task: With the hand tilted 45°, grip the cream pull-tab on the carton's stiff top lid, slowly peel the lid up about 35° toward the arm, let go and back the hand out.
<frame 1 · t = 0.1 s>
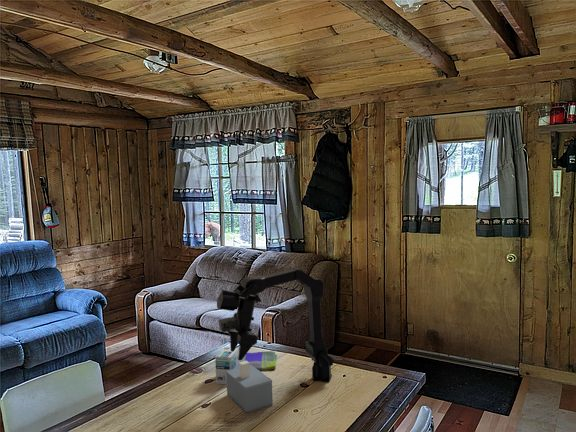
hand: (235, 355, 162), 15 cm above the table, tool pointing down, fingers open, 9 cm apart
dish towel: (248, 364, 194), on the table
carton: (249, 400, 161), on the table
carton lid: (248, 369, 160), point 11 cm above the table, hinge at 0.0°
light bulb box: (228, 379, 179), on the table
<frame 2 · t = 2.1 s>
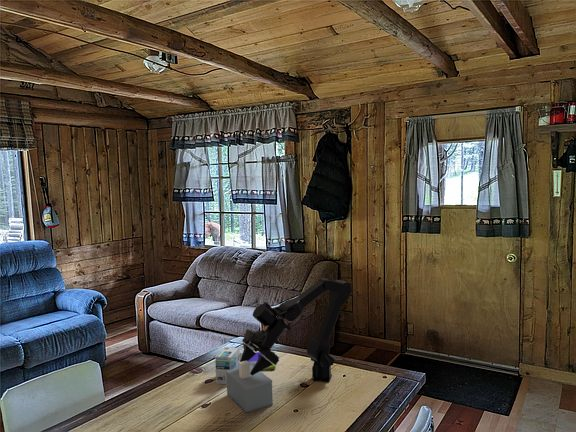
hand: (245, 370, 159), 11 cm above the table, tool tilted 45°, fingers open, 9 cm apart
nothing on the table moved.
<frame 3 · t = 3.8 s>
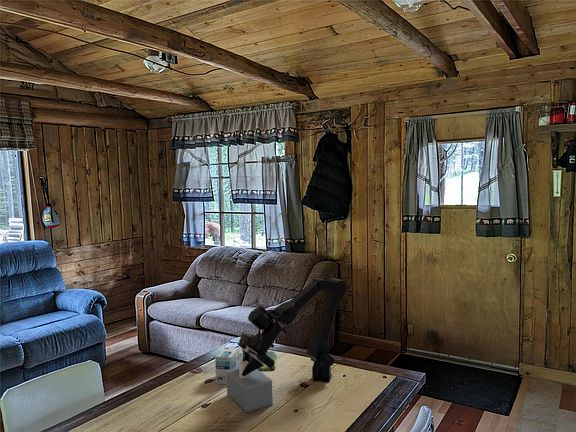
hand: (240, 374, 158), 10 cm above the table, tool tilted 45°, fingers closed on carton lid, 2 cm apart
carton lid: (248, 369, 160), point 11 cm above the table, hinge at 0.0°, touching gripper
everything else where it was.
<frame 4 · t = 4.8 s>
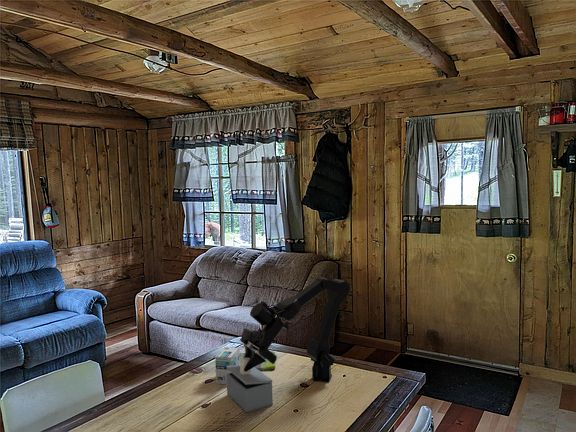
hand: (243, 369, 159), 12 cm above the table, tool tilted 45°, fingers closed on carton lid, 2 cm apart
carton lid: (249, 366, 160), point 12 cm above the table, hinge at 10.6°, touching gripper
everything else where it was.
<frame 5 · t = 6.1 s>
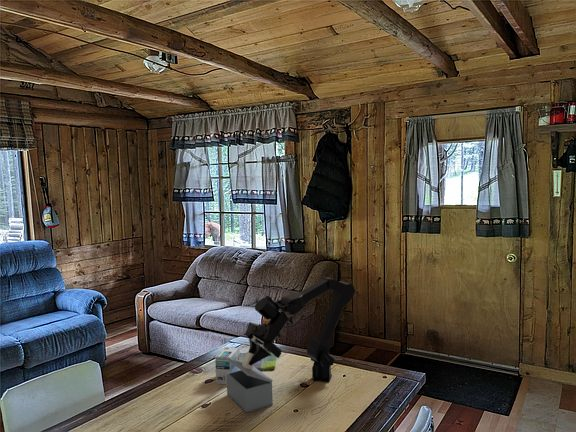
hand: (247, 363, 160), 13 cm above the table, tool tilted 45°, fingers closed on carton lid, 2 cm apart
carton lid: (252, 362, 161), point 13 cm above the table, hinge at 27.6°, touching gripper
everything else where it was.
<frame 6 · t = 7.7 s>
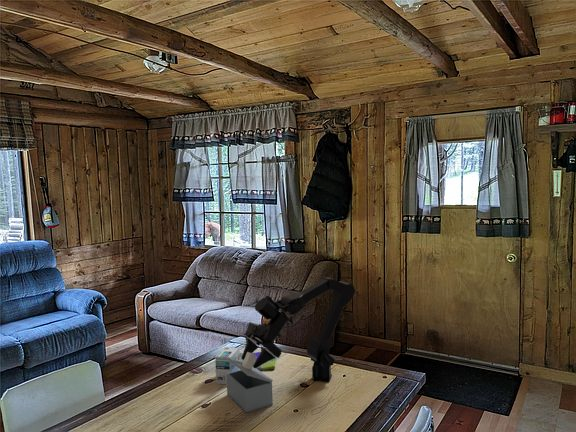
hand: (247, 363, 160), 13 cm above the table, tool tilted 45°, fingers open, 9 cm apart
carton lid: (252, 362, 161), point 13 cm above the table, hinge at 27.6°
everything else where it was.
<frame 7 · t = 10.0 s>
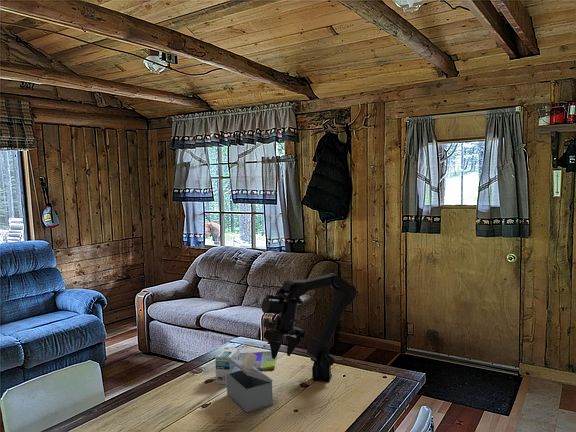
hand: (281, 357, 167), 12 cm above the table, tool pointing down, fingers open, 9 cm apart
nothing on the table moved.
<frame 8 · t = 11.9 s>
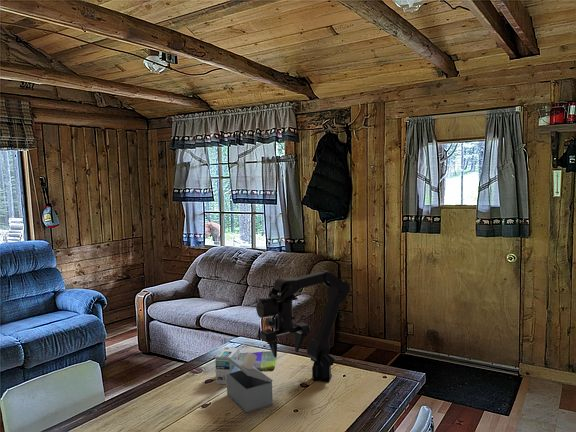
hand: (286, 354, 168), 13 cm above the table, tool pointing down, fingers open, 9 cm apart
nothing on the table moved.
at the end: carton lid at +28° (first picture: +0°); the gripper is holding nothing; light bulb box moved 0.3 cm from its start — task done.
